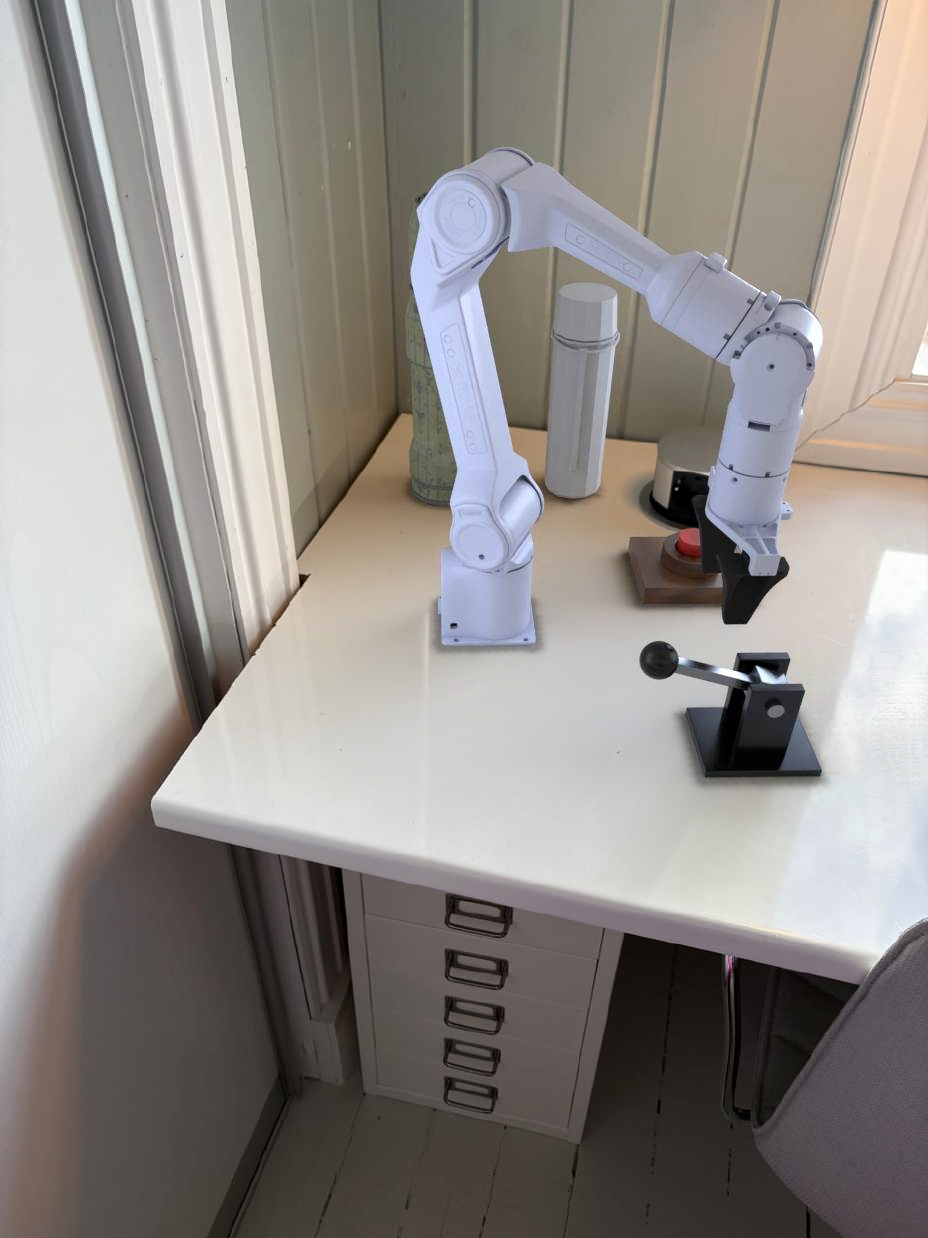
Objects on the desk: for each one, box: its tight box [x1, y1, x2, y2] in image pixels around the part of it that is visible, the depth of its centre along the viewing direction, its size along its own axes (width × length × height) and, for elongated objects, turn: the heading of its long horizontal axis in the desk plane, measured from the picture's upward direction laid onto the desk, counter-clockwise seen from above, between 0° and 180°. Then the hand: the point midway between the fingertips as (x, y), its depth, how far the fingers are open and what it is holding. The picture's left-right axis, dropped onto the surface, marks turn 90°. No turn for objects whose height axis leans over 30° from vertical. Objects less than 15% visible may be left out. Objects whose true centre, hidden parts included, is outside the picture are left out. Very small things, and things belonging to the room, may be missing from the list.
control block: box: [627, 530, 742, 605], centre depth 102 cm, size 12×10×4 cm
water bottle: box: [543, 281, 621, 500], centre depth 110 cm, size 9×8×25 cm
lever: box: [638, 640, 789, 695], centre depth 77 cm, size 13×3×3 cm, turn 91°
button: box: [677, 527, 701, 558], centre depth 100 cm, size 4×4×2 cm
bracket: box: [685, 651, 823, 779], centre depth 80 cm, size 10×8×9 cm
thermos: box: [404, 190, 457, 507], centre depth 108 cm, size 9×12×35 cm
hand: (723, 595), depth 83 cm, fingers open, 7 cm apart
